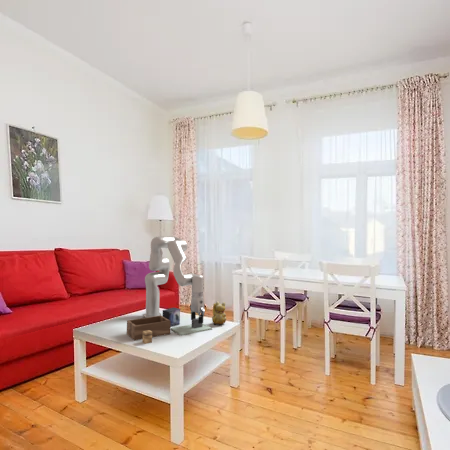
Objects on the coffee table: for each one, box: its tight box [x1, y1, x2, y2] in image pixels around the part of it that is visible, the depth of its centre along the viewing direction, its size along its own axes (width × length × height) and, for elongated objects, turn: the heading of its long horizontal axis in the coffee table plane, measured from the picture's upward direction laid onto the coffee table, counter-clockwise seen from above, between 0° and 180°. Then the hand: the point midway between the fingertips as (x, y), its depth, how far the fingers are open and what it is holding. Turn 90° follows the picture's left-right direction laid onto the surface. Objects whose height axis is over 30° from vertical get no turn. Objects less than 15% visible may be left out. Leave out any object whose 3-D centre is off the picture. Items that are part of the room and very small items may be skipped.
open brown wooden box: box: [126, 315, 171, 341], centre depth 194 cm, size 14×22×8 cm, turn 125°
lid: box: [170, 317, 213, 336], centre depth 204 cm, size 14×22×6 cm, turn 125°
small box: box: [161, 307, 181, 328], centre depth 212 cm, size 11×6×10 cm, turn 143°
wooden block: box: [141, 330, 153, 345], centre depth 180 cm, size 4×4×6 cm
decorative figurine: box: [211, 300, 227, 326], centre depth 216 cm, size 10×8×15 cm
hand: (197, 321), depth 206 cm, fingers open, 9 cm apart
